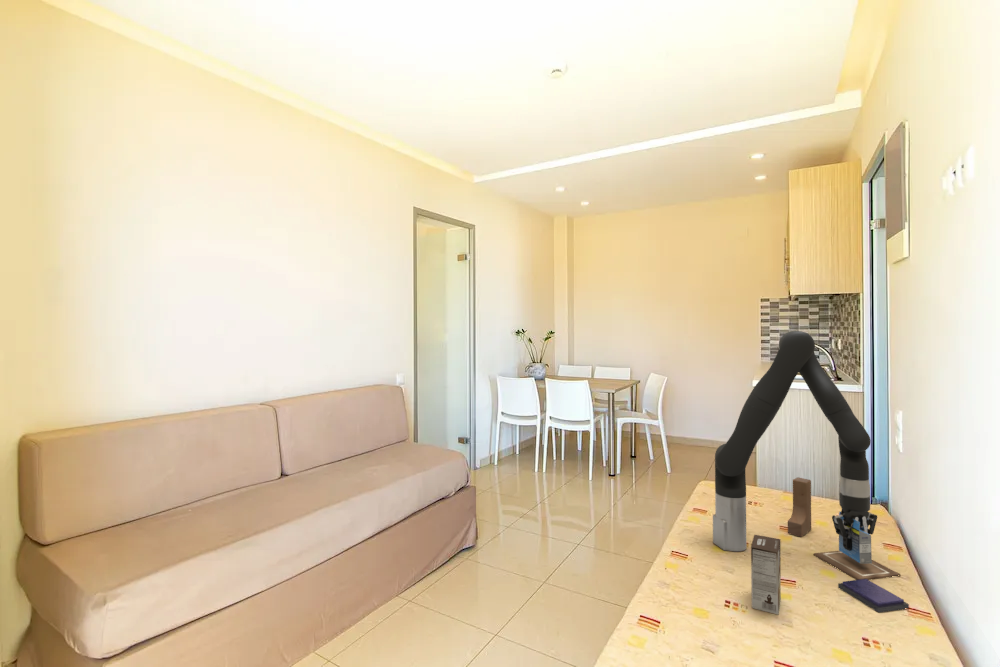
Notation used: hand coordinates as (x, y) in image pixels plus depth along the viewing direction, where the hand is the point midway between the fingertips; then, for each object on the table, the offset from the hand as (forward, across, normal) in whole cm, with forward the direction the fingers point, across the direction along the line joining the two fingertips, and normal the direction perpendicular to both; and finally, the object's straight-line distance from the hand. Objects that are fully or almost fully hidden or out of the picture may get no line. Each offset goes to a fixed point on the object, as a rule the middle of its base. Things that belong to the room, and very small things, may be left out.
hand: (854, 548), depth 147 cm
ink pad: (+5, +11, +16) cm, 20 cm away
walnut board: (+5, 0, 0) cm, 5 cm away
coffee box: (+5, +40, +13) cm, 42 cm away
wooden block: (+5, -2, -24) cm, 25 cm away
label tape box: (+3, 0, 0) cm, 3 cm away
